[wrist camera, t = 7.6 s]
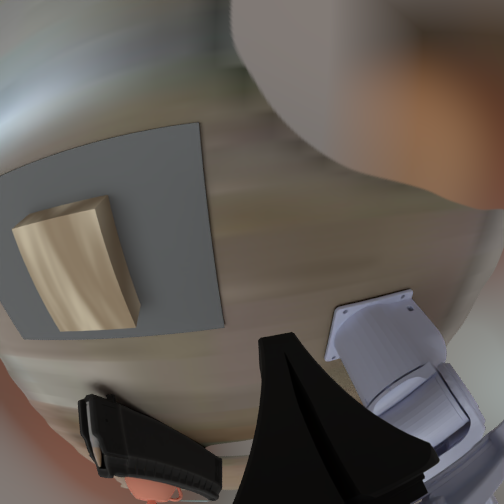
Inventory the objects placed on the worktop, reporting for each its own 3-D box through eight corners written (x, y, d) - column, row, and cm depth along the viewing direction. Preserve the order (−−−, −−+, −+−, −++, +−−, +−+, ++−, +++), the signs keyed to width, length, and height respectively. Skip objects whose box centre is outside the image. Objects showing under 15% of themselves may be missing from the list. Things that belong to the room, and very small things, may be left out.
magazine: (234, 494, 34) (119, 531, 11) (218, 496, 34) (97, 526, 11) (210, 416, 45) (92, 382, 23) (196, 420, 45) (75, 387, 23)
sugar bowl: (124, 459, 39) (124, 499, 31) (187, 467, 44) (192, 506, 35) (124, 469, 44) (124, 503, 36) (178, 476, 49) (181, 509, 40)
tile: (94, 208, 13) (11, 229, 12) (136, 327, 18) (60, 331, 17) (107, 194, 15) (28, 214, 14) (140, 305, 20) (69, 311, 19)
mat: (198, 122, 14) (198, 122, 14) (224, 325, 23) (224, 327, 22) (-40, 196, 12) (-42, 197, 11) (24, 337, 20) (23, 339, 20)
